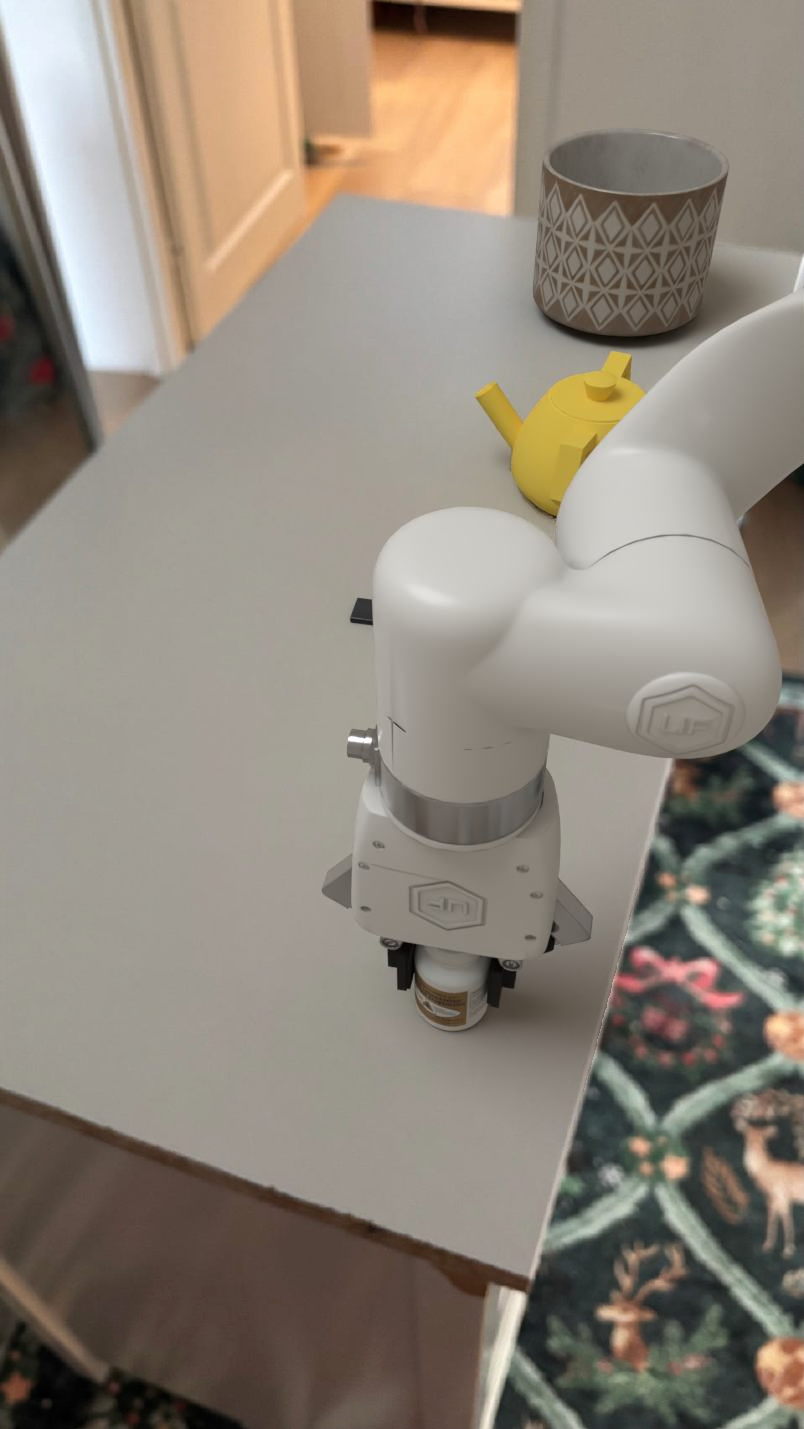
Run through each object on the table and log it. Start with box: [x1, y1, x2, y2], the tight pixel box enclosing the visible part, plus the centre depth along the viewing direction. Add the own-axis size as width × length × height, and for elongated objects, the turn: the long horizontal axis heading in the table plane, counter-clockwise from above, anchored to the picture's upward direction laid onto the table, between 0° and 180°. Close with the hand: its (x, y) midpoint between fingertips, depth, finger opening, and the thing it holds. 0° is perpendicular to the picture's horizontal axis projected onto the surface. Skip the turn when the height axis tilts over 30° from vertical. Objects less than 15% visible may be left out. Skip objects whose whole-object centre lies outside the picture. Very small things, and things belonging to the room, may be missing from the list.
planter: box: [532, 127, 730, 337], centre depth 119 cm, size 19×19×16 cm
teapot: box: [474, 350, 646, 518], centre depth 97 cm, size 20×18×11 cm
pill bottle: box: [413, 944, 492, 1032], centre depth 61 cm, size 4×4×8 cm
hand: (452, 974), depth 62 cm, fingers closed on pill bottle, 4 cm apart
